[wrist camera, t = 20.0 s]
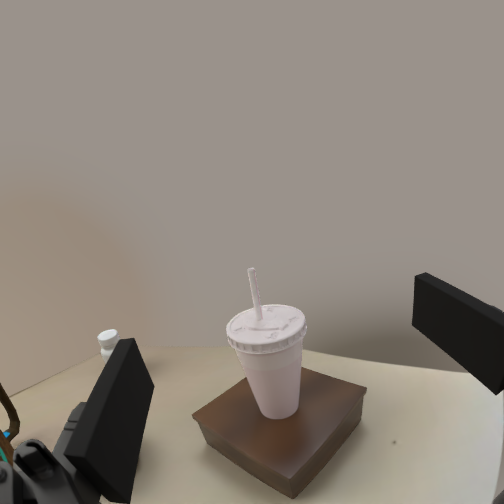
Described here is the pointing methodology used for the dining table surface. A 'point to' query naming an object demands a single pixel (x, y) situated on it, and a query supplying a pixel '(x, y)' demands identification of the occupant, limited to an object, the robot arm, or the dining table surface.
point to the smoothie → (270, 352)
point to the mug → (8, 431)
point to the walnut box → (283, 430)
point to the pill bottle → (108, 343)
